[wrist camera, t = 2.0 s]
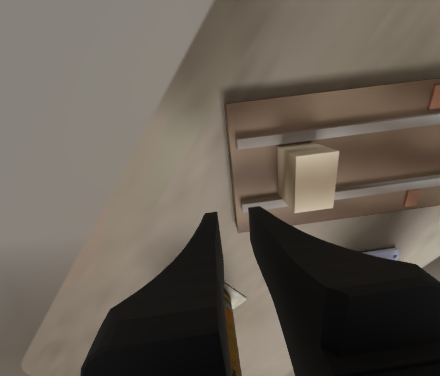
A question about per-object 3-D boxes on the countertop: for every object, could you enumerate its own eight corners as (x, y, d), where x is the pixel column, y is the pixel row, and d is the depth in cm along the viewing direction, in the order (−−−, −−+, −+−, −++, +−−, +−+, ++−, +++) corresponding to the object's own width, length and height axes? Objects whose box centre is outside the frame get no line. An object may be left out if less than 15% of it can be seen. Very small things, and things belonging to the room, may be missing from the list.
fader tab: (309, 189, 19) (333, 208, 16) (277, 193, 19) (294, 213, 16) (312, 142, 17) (339, 150, 14) (277, 146, 17) (296, 156, 14)
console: (451, 195, 22) (477, 204, 20) (236, 225, 22) (239, 237, 20) (494, 71, 18) (533, 67, 16) (224, 104, 17) (227, 103, 15)
